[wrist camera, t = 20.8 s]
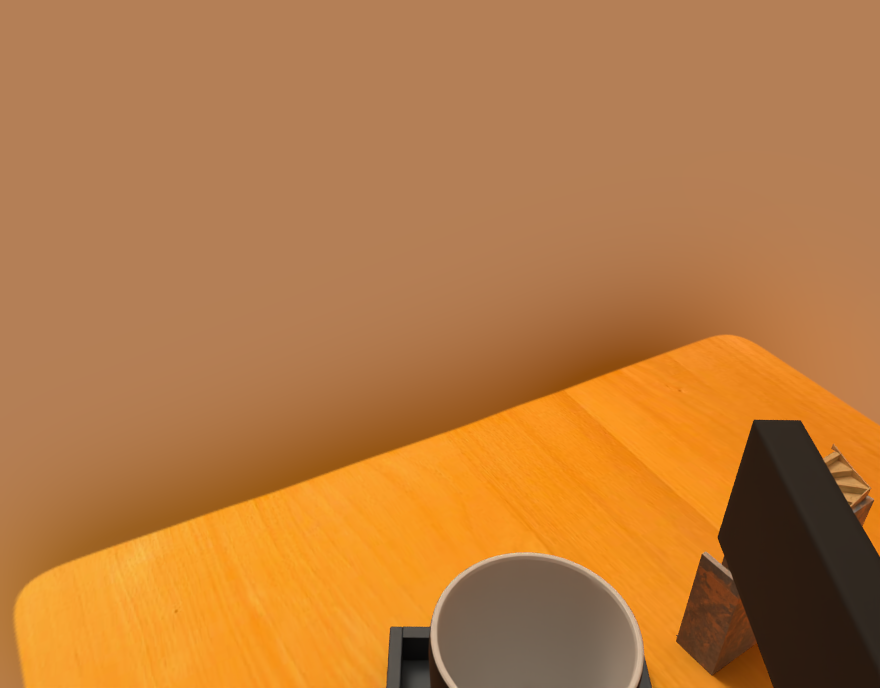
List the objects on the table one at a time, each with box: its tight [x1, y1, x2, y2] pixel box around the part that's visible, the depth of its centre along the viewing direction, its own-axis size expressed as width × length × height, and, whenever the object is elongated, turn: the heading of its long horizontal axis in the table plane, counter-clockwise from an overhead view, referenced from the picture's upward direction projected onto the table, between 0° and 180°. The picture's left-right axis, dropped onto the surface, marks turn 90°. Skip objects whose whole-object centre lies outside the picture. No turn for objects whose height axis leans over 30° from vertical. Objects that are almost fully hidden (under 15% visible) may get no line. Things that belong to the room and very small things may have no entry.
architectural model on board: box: [676, 444, 874, 675], centre depth 45 cm, size 11×3×10 cm, turn 124°
